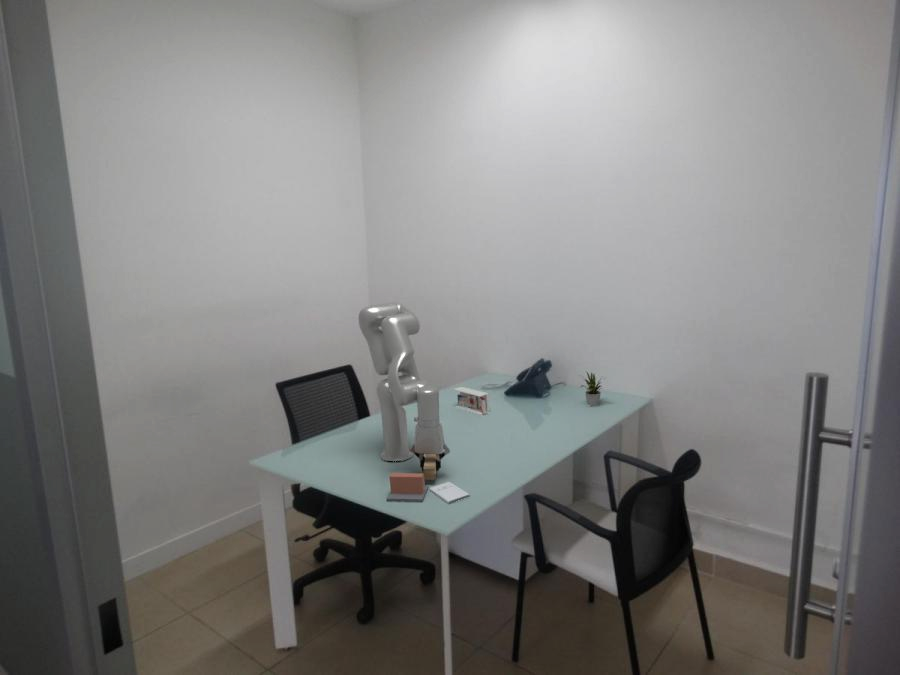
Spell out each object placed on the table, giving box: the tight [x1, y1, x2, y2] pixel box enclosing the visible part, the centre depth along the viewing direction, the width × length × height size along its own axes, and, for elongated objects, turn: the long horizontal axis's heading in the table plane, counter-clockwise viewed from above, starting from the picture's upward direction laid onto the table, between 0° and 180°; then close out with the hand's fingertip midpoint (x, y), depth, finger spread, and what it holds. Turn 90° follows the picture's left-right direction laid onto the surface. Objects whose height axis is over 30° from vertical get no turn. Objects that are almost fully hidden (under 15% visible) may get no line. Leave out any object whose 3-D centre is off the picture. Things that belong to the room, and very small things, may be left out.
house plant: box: [579, 371, 607, 407], centre depth 270 cm, size 14×14×16 cm
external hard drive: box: [428, 481, 471, 505], centre depth 188 cm, size 2×8×12 cm
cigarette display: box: [453, 386, 490, 416], centre depth 272 cm, size 20×6×9 cm, turn 41°
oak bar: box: [423, 454, 437, 481], centre depth 202 cm, size 14×4×4 cm, turn 179°
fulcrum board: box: [386, 472, 430, 503], centre depth 189 cm, size 10×12×7 cm
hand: (430, 468), depth 202 cm, fingers closed on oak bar, 4 cm apart
